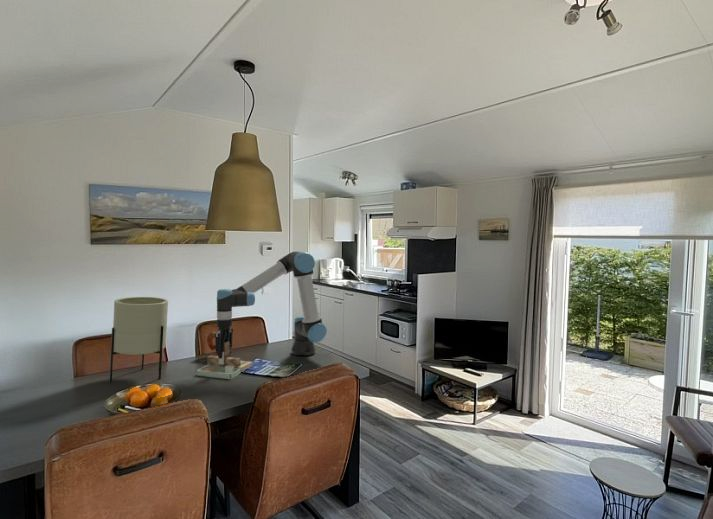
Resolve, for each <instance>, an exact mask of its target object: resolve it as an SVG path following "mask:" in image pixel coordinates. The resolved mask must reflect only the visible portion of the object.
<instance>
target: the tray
mask: <svg viewBox="0 0 713 519" xmlns="http://www.w3.org/2000/svg"><path fill="white" fill-rule="evenodd" d="M208 367H209V368H215V372H211V371H204V369H206V368H208ZM195 372H196V376H198V377H199V376H200V377H207V378H208V377H209V378H216V379H217V378H218V379H225V380H232V379H234V378H236V377H238V376H240V375H241V374H242V373H241V369H240V368H234V372H233V373H231V374H228V373H225V367H222V366H213V365H208V364H207V365H204V366H203V367H200V368H198V369H196V371H195ZM240 373H241V374H240ZM239 374H240V375H239Z"/></svg>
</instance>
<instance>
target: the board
mask: <svg viewBox="0 0 713 519" xmlns="http://www.w3.org/2000/svg"><path fill="white" fill-rule="evenodd" d="M252 365H253V361H249V360H248V361H247V360H241V366H239V367H234V368H240V369H241V372H242V371H243V370H245V369H247V368H249V367H250V366H252ZM213 366H218V365H213ZM253 366H254V365H253ZM253 366H252V367H253ZM222 367H225V366H222Z"/></svg>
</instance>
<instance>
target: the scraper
mask: <svg viewBox="0 0 713 519" xmlns="http://www.w3.org/2000/svg"><path fill="white" fill-rule="evenodd" d="M223 352H224V364H223V365H222V364H219V358H218V356H219V353H218V356H217V355H209V356H207V358H206V359H207V362H206V363H207V365H218V366H227V365H231V366H234V367H239V366H241V361H242V360H241V357H231V356H229V342H224V348H223Z"/></svg>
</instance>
